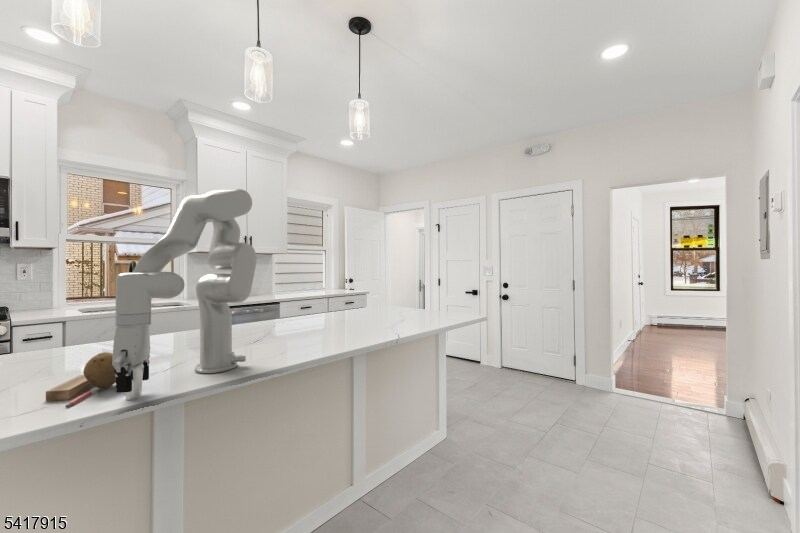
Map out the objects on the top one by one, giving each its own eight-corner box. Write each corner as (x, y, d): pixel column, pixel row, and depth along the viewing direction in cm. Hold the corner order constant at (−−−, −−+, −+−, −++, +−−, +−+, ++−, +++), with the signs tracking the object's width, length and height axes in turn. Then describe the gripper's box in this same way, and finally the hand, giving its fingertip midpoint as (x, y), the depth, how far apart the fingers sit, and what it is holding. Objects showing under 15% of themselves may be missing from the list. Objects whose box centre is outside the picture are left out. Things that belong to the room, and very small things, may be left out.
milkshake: (135, 402, 92) (135, 362, 91) (118, 400, 93) (117, 361, 93) (151, 395, 96) (150, 358, 96) (134, 394, 97) (133, 357, 97)
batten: (99, 382, 107) (99, 373, 107) (69, 399, 93) (69, 389, 93) (79, 383, 106) (79, 375, 106) (45, 401, 92) (45, 391, 92)
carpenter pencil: (91, 394, 97) (91, 391, 97) (68, 407, 88) (68, 404, 88) (87, 394, 97) (87, 391, 97) (64, 408, 88) (64, 404, 88)
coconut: (79, 388, 102) (79, 353, 101) (118, 380, 109) (118, 347, 108) (88, 395, 96) (87, 358, 96) (128, 386, 103) (128, 351, 103)
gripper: (132, 316, 102) (132, 377, 101) (98, 325, 85) (97, 398, 85) (163, 315, 103) (162, 375, 103) (134, 324, 87) (134, 396, 86)
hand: (133, 385), depth 94 cm, fingers open, 9 cm apart
